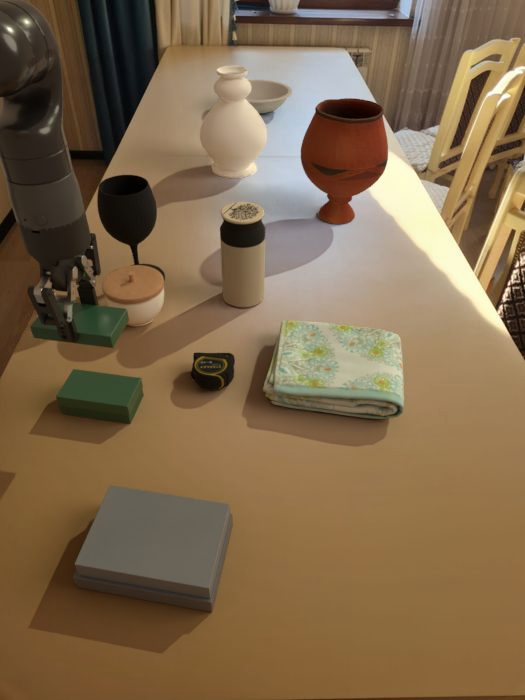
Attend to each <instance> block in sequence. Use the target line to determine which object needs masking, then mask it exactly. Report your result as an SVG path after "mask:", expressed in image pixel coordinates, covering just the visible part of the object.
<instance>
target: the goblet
mask: <svg viewBox="0 0 525 700" xmlns="http://www.w3.org/2000/svg"><path fill="white" fill-rule="evenodd" d="M314 111H315V112H314V114H313V116H312V118H311V120H310V123H309V124H308V127H307V129H306V130H305V133H304V136H303V139H302V142H301V146H300V162H301V166H302V169H303V171H304V173H305V175H306V177H307V178H308V180H309V181H310V182H311V183H312V184H313V185H314V187H316V188H317V189H318V190H319V191H321V192H323V193H324V194H326V197H327V199H328V200H327V202H326V203H324V204H323V205H322V206H321V207H320V208H319V210H318V212H317V216H318V218H319V219H321V221H324V222H326V223H328V224H333V225H343V224H349V223H351V222H352V221H354V219H355V217H356V214H355V211H354V209H353V207H352V206H351V204H350V202H351V201H352V200H353V197H354V196H357V195H360V194H361V193H363V192H365V191H367V190H368V189H369V188H371V187H372V186H373V185H375V183H377V182H378V180H379V179H380V178H381V177H382V175H383V174H384V173H385V170H386V167H387V165H388V160H389V143H388V135H387V131H386V127H385V121H384V114H385V109H384V106H382V105H381V104H379V103H377V102H374V101H371V100H368V99H362V98H361V99H360V98H351V97H349V98H348V97H345V98H338V99H337V98H335V99H332V98H331V99H324V100H323V101H321V102H319V103H318V104H317V105H316V106H315V108H314Z"/></svg>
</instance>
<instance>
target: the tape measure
mask: <svg viewBox="0 0 525 700" xmlns="http://www.w3.org/2000/svg"><path fill="white" fill-rule="evenodd" d="M192 357H193V358H192V359H193V360H192V361H193V362H192V367H191V371H190V378H191V380H192V381H194V383H195V384H196V385H197V386H198V387H199V388H200V389H204V390H207V391H217V390H220V389H221V390H222V389H224V388H226V387H228V386H229V385H230V384H231V383H232V382H233V380H234V377H235V362H236V359H235V355H234V354H233V353H231V352H193V356H192Z"/></svg>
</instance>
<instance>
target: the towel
mask: <svg viewBox="0 0 525 700" xmlns="http://www.w3.org/2000/svg"><path fill="white" fill-rule="evenodd" d="M404 380H405V379H404V364H403V346H402V338H401V337H400V335H399V334H397V333H396V332H392V331H387V330H385V329H382V328H377V327H376V328H375V327H369V326H368V327H366V326H365V327H364V326H354V325H346V324H339V323H338V324H337V323H331V322H321V321H319V322H318V321H308V320H294V319H287V320H281V322H280V328H279V331H278V337H277V338H276V341H275V344H274V349H273V354H272V358H271V362H270V365H269V368H268V370H267V374H266V377H265V380H264V383H263V387H262V392H264V393H265V397H266V398H269V400H270V403H272V405H275V406H280V407H284V408H290V409H294V410H305V411H313V412H322V413H327V414H335V415H340V416H346V417H347V416H348V417H355V418H363V419H374V420H375V419H376V420H386V419H393V418H399V417H400V416H401V415H402V414H403V413H404V410H405V385H404Z"/></svg>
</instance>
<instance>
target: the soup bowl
mask: <svg viewBox="0 0 525 700" xmlns="http://www.w3.org/2000/svg"><path fill="white" fill-rule="evenodd" d="M247 80H248V81H249V82H250V84H251V92H250V93H249V95H248V96H247V97H246V98H245V99H246V100H247V101H248V102H249V103H250V104H251V105H252V106H253V107H254V108H255V109H256V111H257V112H258V113H259V114H266V113H271V112H273V111H275V110H277V109H278V108H280V107H281V106H282V105H283V104H284V103H285V101H286V100H287V99H288V98H289V97H291V96H292V94H293V88H291V87H290V86H289V85H288V84H285V83H282V82H279V81H274V80H268V79H247Z"/></svg>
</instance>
